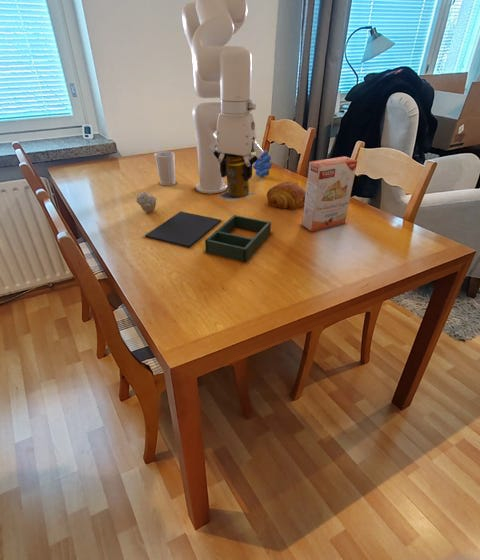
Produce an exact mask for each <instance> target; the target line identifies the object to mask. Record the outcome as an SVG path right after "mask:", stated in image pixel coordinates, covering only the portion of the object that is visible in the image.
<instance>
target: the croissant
mask: <svg viewBox="0 0 480 560" xmlns="http://www.w3.org/2000/svg"><path fill="white" fill-rule="evenodd" d="M305 195H306V189H305V188H303V187H302V186H300V185H299V184H298V183H296V182H292V181H283V182H279V183H277V184H275V185H274V186H272V187H271V188H269V189H268V190H267V192H266V197H267V202H268V204H269V205H270V206H273V207H274V208H275V207H276V208H281V209H282V208H283V209H288V210H294V209H297V208H300V207H302V206H304V203H305Z"/></svg>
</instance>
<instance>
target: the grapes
mask: <svg viewBox="0 0 480 560" xmlns="http://www.w3.org/2000/svg"><path fill="white" fill-rule="evenodd" d="M262 150H263V151H264V154H263V155H262V156H261V157H260V158H259V159H258V160H257V161H256V162H255V163H254V164H252V169H253V170H255V172H254V173H255V175H256V176H259V178H261V179H264V178H265V176H268V175H270V169H271V168H272V167H273V166H272V164H273V163H271V159H272V156H271V155H270V154H268V151H267V150H266V149H262Z"/></svg>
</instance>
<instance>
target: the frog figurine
mask: <svg viewBox="0 0 480 560" xmlns="http://www.w3.org/2000/svg"><path fill="white" fill-rule="evenodd" d="M135 200H136V203H137V204H138V205H139V206H140V208H141V210H142V211H143V212H144V213H151V212H153V211H155V208H156V205H157V198H156V197H155V196H153V195H152V194H149V193H147V192H140V193H138V195H137V196H136V197H135Z"/></svg>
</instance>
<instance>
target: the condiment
mask: <svg viewBox="0 0 480 560" xmlns="http://www.w3.org/2000/svg"><path fill="white" fill-rule="evenodd" d="M226 160H227V161H226V164H225V166H226V185H227V192H224V193H221V194H219V193H218V194H217V195H216V196H217V197H219V198H221V199H223V200H227V201H229V202H235V201H238V200H240V199H244V198H247V197H251V196H254V195H255V194H256V193H255V192H251V191H250V185H249V180H248V181H245V180H244V167H245V166H246V163H245V160H244V158H243V156H240V155H234V154H226Z"/></svg>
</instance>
